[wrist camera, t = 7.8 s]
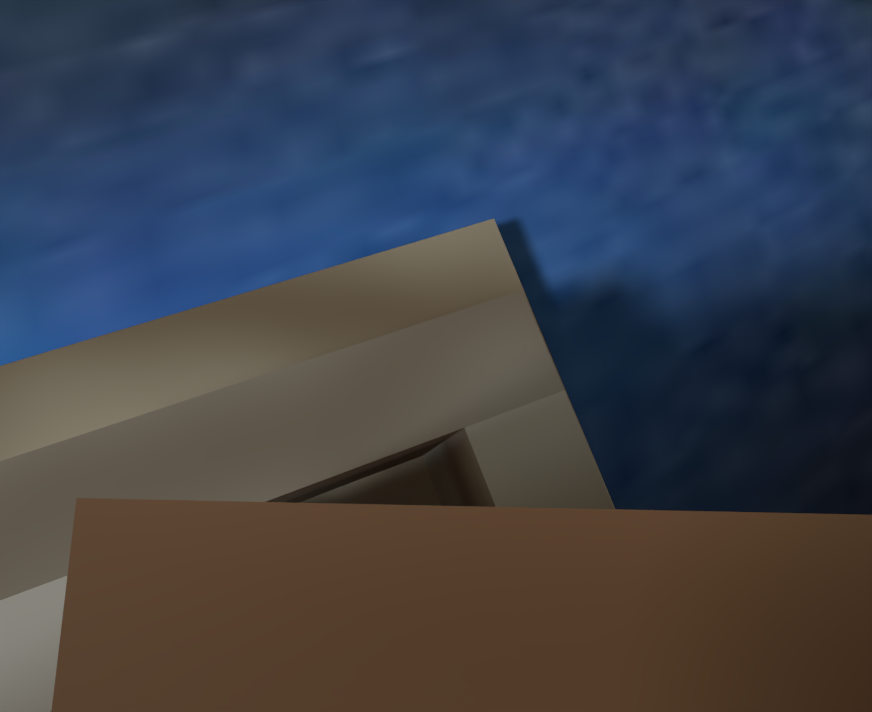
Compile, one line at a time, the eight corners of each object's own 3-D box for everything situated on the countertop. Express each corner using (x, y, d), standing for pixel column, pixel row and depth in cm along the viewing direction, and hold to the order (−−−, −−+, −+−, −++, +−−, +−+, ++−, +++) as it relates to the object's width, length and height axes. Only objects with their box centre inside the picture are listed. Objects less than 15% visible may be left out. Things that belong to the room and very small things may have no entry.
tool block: (749, 876, 18) (922, 990, 13) (108, 1262, 14) (28, 1615, 9) (483, 234, 20) (548, 136, 16) (-121, 417, 17) (-275, 360, 12)
